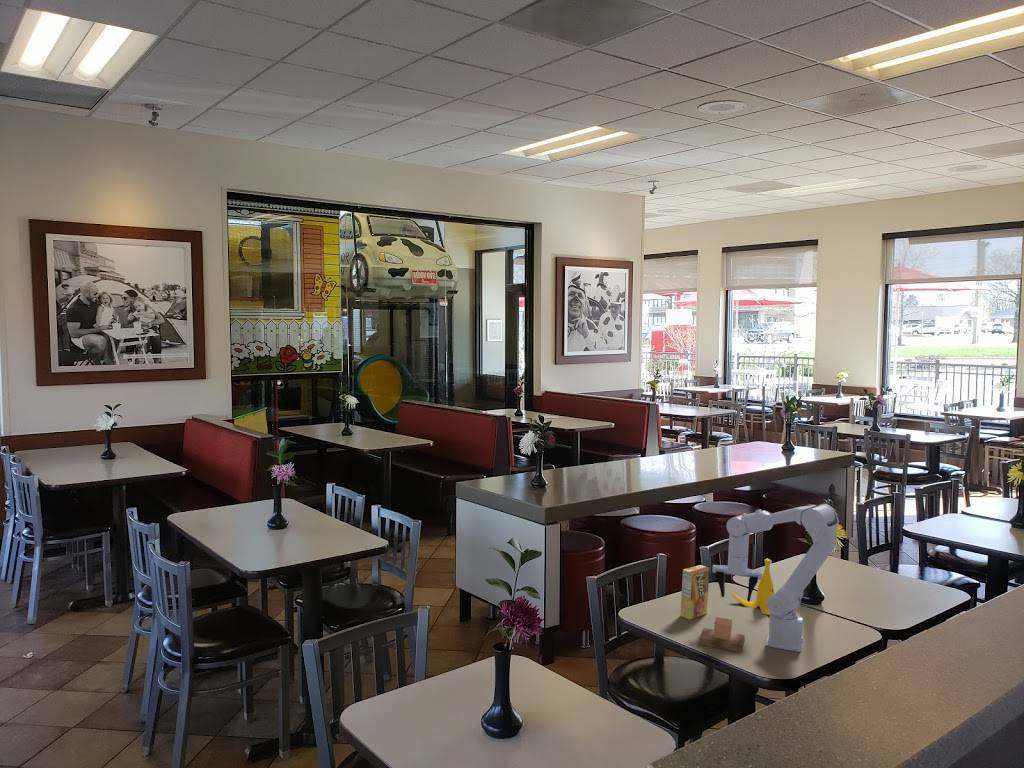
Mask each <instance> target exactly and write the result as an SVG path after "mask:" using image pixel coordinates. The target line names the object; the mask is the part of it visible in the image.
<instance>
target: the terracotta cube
mask: <svg viewBox="0 0 1024 768" xmlns="http://www.w3.org/2000/svg"><path fill="white" fill-rule="evenodd" d="M732 625H733V619H732V618H731V619H730V618H724V617H719V616H716V617H715V620H714V626H713V627H714V628H713V629H714V638H720V639H726V640H730V637H731V633H732V632H733V631H732V629H733V628H732V627H733V626H732Z"/></svg>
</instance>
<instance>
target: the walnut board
mask: <svg viewBox="0 0 1024 768" xmlns="http://www.w3.org/2000/svg"><path fill="white" fill-rule="evenodd" d="M698 639H699V640H698V641H699V642H698V645H701V646H706V647H712V648H717V649H724V650H729V651H734V652H738V653H743V650H744V646H745V645H744V644H745V643H746V635H745V634H741V633H736V632H731V637H730V640H726V639H720V638H714V628H708V627H703V628H702V630H701V633H700V635H699V638H698Z"/></svg>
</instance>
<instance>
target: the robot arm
mask: <svg viewBox="0 0 1024 768" xmlns="http://www.w3.org/2000/svg"><path fill="white" fill-rule="evenodd" d="M790 522H796V524H798V525H799V526H802V525H803V527H804V529H805V530H806V531H807V533H808V534H809V537H811V540H812V542H813V544H812V545H811V546H810V548H809V549H808V551H807V552H806V554H805V555H804V556H803V558H802V559H801V561H800V562H799V563H798V565H797V566H796V567H795V569H794V570H793V571H792V573H791V575H790V576H789V577H788V579H787V580H786V582H785V583H784V584H783V585H782V586H781V587H780V588H779V589H777V591H776V592H775V593H774V595H772V596H770V597H769V598H768V599H767V602H766V605H767V609H768V611H769V612H770V615H769V623H768V634H767V636H766V637H767V638H766V641H765V642H766V643H765V647H770V648H775V649H780V650H787V651H793V652H798V653H800V652H802V644H803V642H804V641H803V640H804V637H803V625H804V622H803V621H804V618H803V617H802V616H799V615H797V610H798V609H799V608H800V606H801V601H802V597H804V591H805V589H806V588H807V586H808V585H809V584H810V583H811V581H812V579H813V578H814V576H815V575H817V573H818V571H819V570H820V568H821V567H822V565H823V564H825V562H826V560H827V559H828V557H829V556H830V555H831V553H832V552H833V550H834V549H835V547H836V545H837V531H838V525H839V523H840V520H839V516H838V515H837V511H836V510H835V508H833V506H831V505H829V504H827V503H825V504H824V503H822V504H819V505H818V506H817V505H815V504H812V505H804V506H797V507H794V508H790V509H786V510H782V511H781V510H780V511H777V512H774V513H773V512H772V513H771V512H769V511H767V510H762V509H757V510H755V512H751V513H748V514H747V512H744V513H742V514H741V515H736V516H734V517H731V518H729V519H728V520H727V522H726V526H725V528H726V531H727V532H728V534H729V539H728V555H727V556H728V557H727V558H728V559H727V565H724V564H722V565H720V564H713V565H712V571H711V572H712V573H714V574H715V579H716V581H717V584H718V587H719V589H720V596H721V598H725V594H726V593H725V591H726V589H725V587H726V586H725V584H726V583H725V582H726V575H731V576H737V577H745V578H748V588H747V589H748V592H747V598H746V599H747V600H746V601H749V602H751V597H752V593H753V591H754V590H755V587H756V585H757V584H758V581H760V580H762V575H763V571H761V570H760V571H759V570H755V569H751V568H749V567H748V563H749V562H748V560H749V544H750V542H749V541H750V534H755V533H760V532H766V531H770V530H771V529H773V526H774V525H778V524H784V523H790Z"/></svg>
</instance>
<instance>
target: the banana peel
mask: <svg viewBox="0 0 1024 768" xmlns="http://www.w3.org/2000/svg"><path fill="white" fill-rule="evenodd" d="M770 566H771V560H770V558H766V559H764V571H763V572H762V580H760V579H759V583H758V586H757V591H756V598H755V601H750V602H749V601H747V600H746V599H743V598H741V597H740V596H738V594H735V592H732V593H731V595H732V596H733V597H734V599H736V600H737V601H738V602H739V603H740V604H741V605H742V606H743V607H744V606H745V608H747V609H757V608H758V607H759V608H760V612H761V614H764V615H766V616H768V615H769V616H770V612H769V611H768V609H767V605H766V602H767V599H768V598H769V597H770V596H772V595H774V594H775V589H774V583H773V579H772V576H771V572H770Z"/></svg>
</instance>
